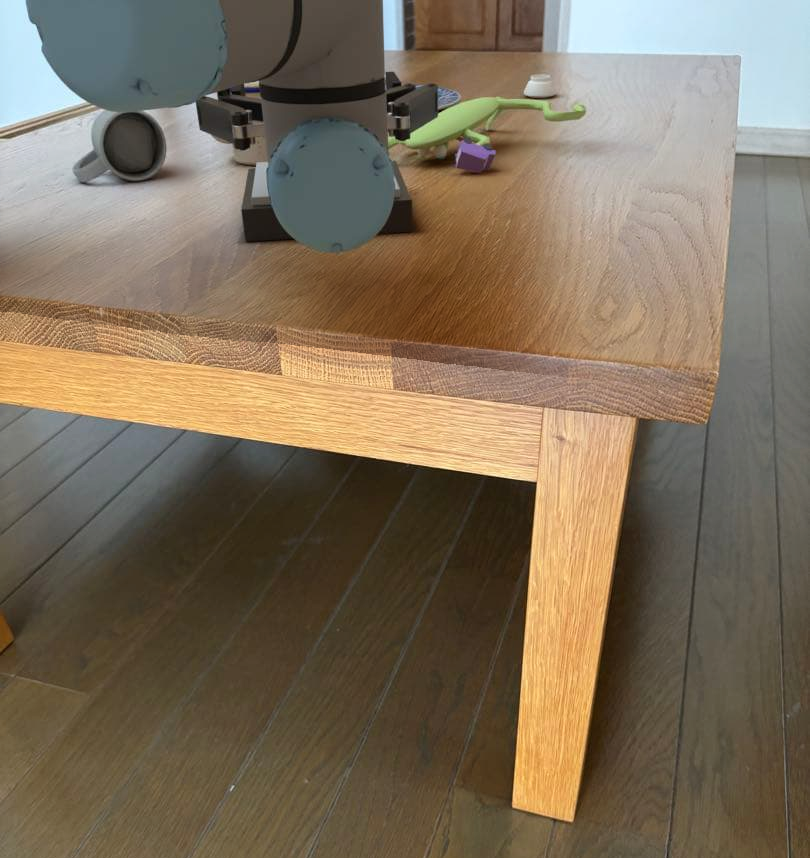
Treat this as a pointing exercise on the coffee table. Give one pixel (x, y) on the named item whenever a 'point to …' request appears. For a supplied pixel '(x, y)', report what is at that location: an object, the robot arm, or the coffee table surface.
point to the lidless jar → (540, 87)
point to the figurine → (468, 118)
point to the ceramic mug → (123, 147)
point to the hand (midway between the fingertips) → (316, 91)
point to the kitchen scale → (266, 226)
